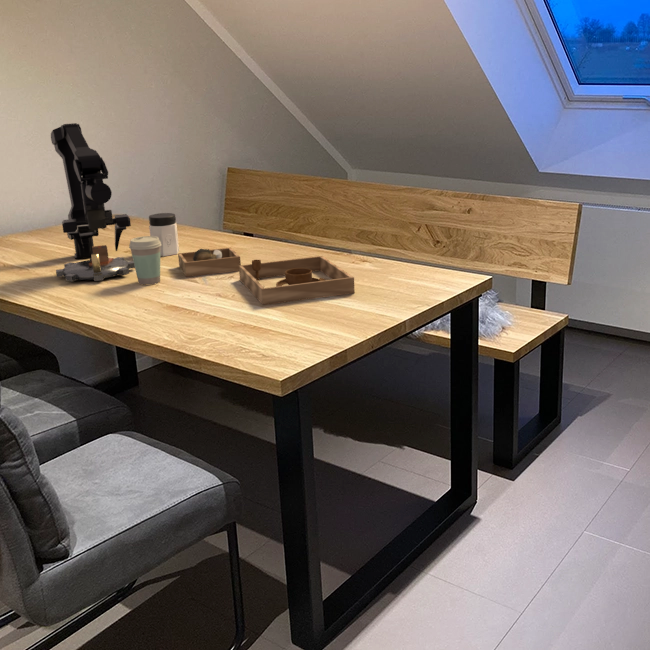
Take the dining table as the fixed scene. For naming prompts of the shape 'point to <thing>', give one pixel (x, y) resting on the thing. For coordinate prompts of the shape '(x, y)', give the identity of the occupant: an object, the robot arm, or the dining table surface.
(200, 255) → the eagle figurine
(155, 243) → the coffee cup
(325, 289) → the saucer tray frame
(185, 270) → the open wooden box
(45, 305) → the dining table surface
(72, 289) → the dining table surface
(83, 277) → the sprocket
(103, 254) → the link block
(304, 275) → the place setting
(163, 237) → the jar
